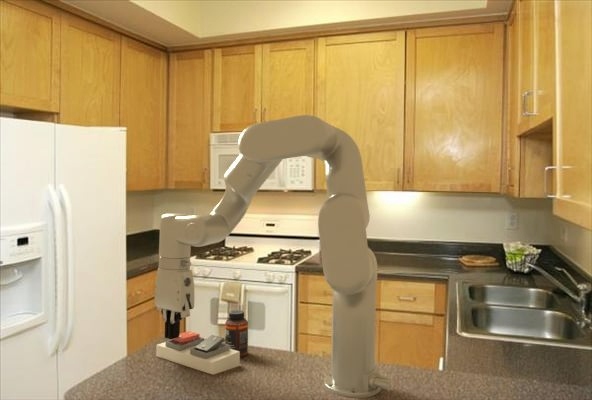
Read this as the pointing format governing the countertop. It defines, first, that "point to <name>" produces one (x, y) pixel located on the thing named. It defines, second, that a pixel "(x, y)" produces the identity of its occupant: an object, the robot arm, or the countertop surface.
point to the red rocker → (186, 337)
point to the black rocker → (210, 344)
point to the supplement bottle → (237, 332)
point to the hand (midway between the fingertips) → (172, 337)
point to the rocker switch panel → (199, 356)
